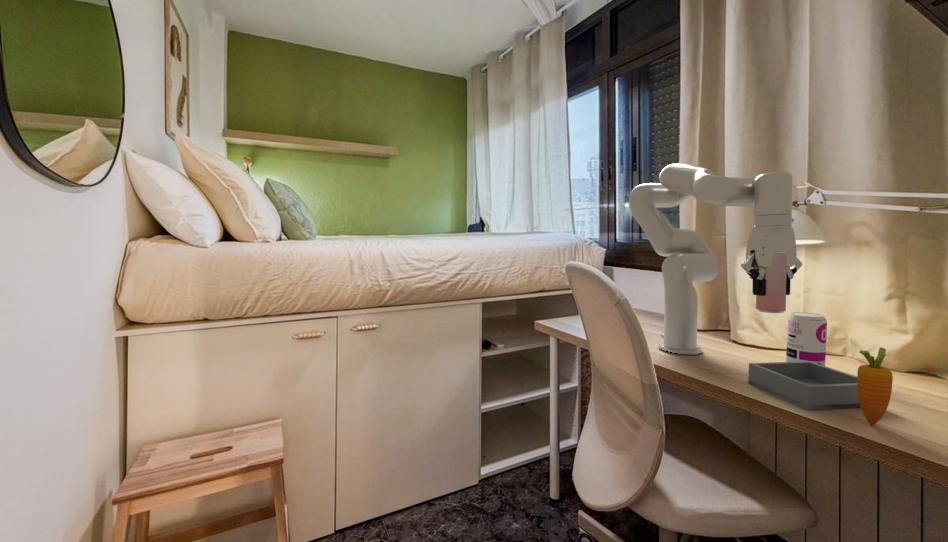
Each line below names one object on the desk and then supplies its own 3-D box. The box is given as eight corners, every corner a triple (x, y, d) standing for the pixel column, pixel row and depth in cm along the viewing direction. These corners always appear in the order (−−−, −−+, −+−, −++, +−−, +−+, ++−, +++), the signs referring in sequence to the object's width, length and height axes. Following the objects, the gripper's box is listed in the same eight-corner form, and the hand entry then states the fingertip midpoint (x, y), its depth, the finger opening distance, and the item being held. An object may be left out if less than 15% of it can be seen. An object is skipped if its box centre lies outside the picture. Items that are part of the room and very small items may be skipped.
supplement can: (830, 369, 105) (833, 315, 104) (815, 374, 101) (818, 318, 100) (795, 361, 112) (797, 311, 111) (779, 366, 108) (782, 313, 107)
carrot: (861, 428, 72) (865, 350, 71) (848, 417, 77) (852, 343, 76) (897, 433, 70) (902, 352, 69) (881, 421, 75) (886, 345, 74)
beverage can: (754, 309, 101) (755, 252, 100) (783, 310, 98) (784, 251, 97) (757, 312, 96) (758, 252, 95) (787, 313, 93) (788, 251, 92)
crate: (748, 382, 96) (749, 363, 95) (808, 380, 97) (809, 361, 97) (808, 410, 80) (809, 387, 80) (879, 407, 81) (880, 384, 81)
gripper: (791, 223, 100) (789, 292, 101) (728, 224, 99) (727, 294, 100) (818, 221, 92) (817, 295, 93) (751, 222, 91) (750, 297, 92)
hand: (771, 294), depth 96 cm, fingers closed on beverage can, 5 cm apart
